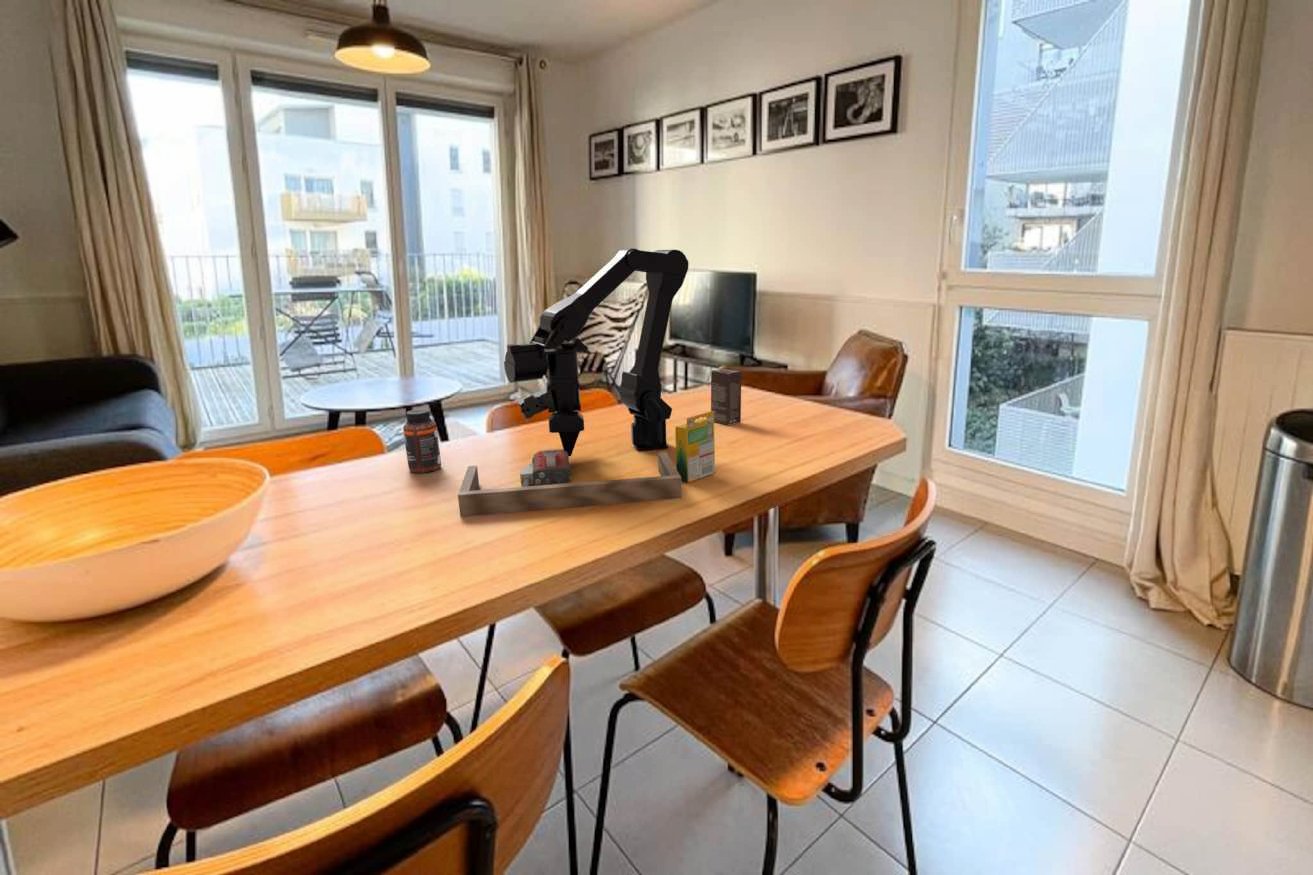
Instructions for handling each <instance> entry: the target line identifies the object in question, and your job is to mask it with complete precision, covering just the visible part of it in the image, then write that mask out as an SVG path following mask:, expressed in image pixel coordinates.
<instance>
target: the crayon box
mask: <svg viewBox="0 0 1313 875" xmlns="http://www.w3.org/2000/svg"><path fill="white" fill-rule="evenodd" d="M674 431H675V434H674V435H675V458H676V459H675V462H676V465H675V468H676V469H677V471H678V473H679V474H680V476H681V478H682V483H687V484H690V483H691V482H694V481H696V480H700V479H702V478H705V477H707V476H709V475H714V474H715V473H716V467H715V466H716V460H715V453H716V451H715V450H716V449H715V422H714V411H711V410H710V411H708V412H704V413H700V414H698V415H694V416H691V417H688V418H686V423H685V424H680V425H676V426H675V430H674Z"/></svg>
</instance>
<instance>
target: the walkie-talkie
mask: <svg viewBox="0 0 1313 875" xmlns="http://www.w3.org/2000/svg"><path fill="white" fill-rule="evenodd" d="M569 457H570V456H568V452H567V451H565V450H564V449H556V448H555V449H545V450H539V451H537V452H536V453H534V454H533V457H532V459H531V461H532V462H531V463H529V464H527V465H524V466H522V468H521V471H520V474H519V477H520V485H521V486H522V487H528V486H530V485H533V486H541V485H554V484H567V483H570V482H571V477H572V469H571V466H570V458H569ZM571 483H572V482H571Z"/></svg>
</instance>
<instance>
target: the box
mask: <svg viewBox="0 0 1313 875" xmlns="http://www.w3.org/2000/svg"><path fill="white" fill-rule="evenodd" d="M710 377H711V379H710V384H711V385H710V412H711V411H714V423H719V424H723V425H727V426H732V425H736V424H739V423H741V421H742V419H741V416H742V412H741V411H742V370H741V371H740V370H733V369H726V368H720V369H713V370H711V371H710Z"/></svg>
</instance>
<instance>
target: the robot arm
mask: <svg viewBox="0 0 1313 875" xmlns="http://www.w3.org/2000/svg"><path fill="white" fill-rule="evenodd" d="M689 265H690V264H689V259H688V258H687V257H686V255H685V253H684V252H683V251H681V250H679V249H657V250H654V251H649V250H648V251H646V250H640V249H638V248H633V247H632V248H630V247H629V248H622V249H620V250H618V252H617V253H616V255H615V256H614V257H612V258H611V260H609V262H607V263H606V264H605V265H604V266H603V267H602V268H601V269H600V270H599V271H597V273H596V274H594V275H593V276H592V277H591V278H590V279H589V280H588V281H587V282H586V283H585V284H583V285H582V286H581V287H580V288H579V289H578V290H576V291H575V293H573V294H572V295H570V296H568V297H566V298H563V299H562V300H559V301H557V302H556V303H554V304H552V305H551V306H549V307H548V308H546V309H545V310H544V311H543V312H542V313H541V314H540V317H539V320H540V321H539V326H538V328H537V330H536V331H535V333H534V334H533V336H532V338H531V339H530V341H529V342H528V343H522V344H519V343H518V344H517V343H509V344H508V343H507V345H506V350H507V351H506V353H505V357H504V362H503V367H504V372H505V375H506V378H507V380H508V382H509V383H511V384H513V383H521V382H529V381H537V380H542V379H543V377H544V376H547V382H546V388H545V389H542V390H541V389H540V390H539V391H536V392H533V393H531V394H529V395H526V396H524V397H522V398H520V399H519V400H518V406H519V409H520V412H521V413H522V414H523V416H524V419H525V420H528V419H531V418H532V417H533V416H535V415H537V414H539V413H542V412H544V411H547V410H548V411H547V413H552V414H551V415H550V416H549V417H548V431H549V432H548V433H551V434H554V433H555V434H556V433H558V436H559V438H560V442H561V445H562V450H565V451H567V452H568V456H569V457H572V455H573V452H574V449H575V446H576V444H577V441H578V438H579V435H580V432H583V431H585V420H584V416H583V414H582V413H581V411H582V407H581V406H582V404H581V396H580V394H581V393H580V392H581V391H580V388H581V387H580V378H579V376H580V375H579V360H578V359H579V358H578V352H584V351H588V350H589V347H588V346H587V345H586V344H585V343H584V342H582V340H581V339H580V338H578V337H577V336H578V335H579V334H580V332H581V331H582V330H583V329H584V327H585V326H586V325H587V323H588V320H589V319H590V316H591V314H592V313H593V311H594V309H596V308H597V307H598V306H599V305H601V303H603V301H605V299H607V297H609V296H610V295H611V294H612V293H613V292H614V291H615V290H616V289H617V288H618V287H619V286H620V285H622V284H623V283H624V282H625V281H626V280H627V279H628V278H629V277H630V276H631V275H632V274H633V273H634V272H641V273H645V281H646V285H647V286H646V287H647V290H648V297H647V302H646V307H645V311H644V318H643V322H642V325H641V326H642V327H641V333H640V337H639V343H638V347H637V353H636V358H635V362H634V365H633V367H631V369H630V370H629V372H628V371H624V370H623V371H622V374H621V383H620V386H619V387H618V389H617V391H618V392H620V393H619V394H620V395H619V397H620V401H621V402H622V403H623V405H624V406H625V407H627V410H628V412H629V414H630V415H633V422H631V424H630V431H631V443H632V445H633V446H634V447H635V450H636V451H644V450H645V451H646V450H647V451H648V450H660V449H668V448H669V445H668V443H667V420H669V419H670V418H671V416H672V410H673V408H672V407H671V406H670V405H669V404H668V403H666V401H665V400H664V399H662V387H663V386H662V382H661V381H662V380H661V377H660V372H659V368H660V362H661V357H662V353H663V348H664V343H665V340H666V339H665V338H666V333H667V328H668V324H669V318H670V314H671V309H672V304H673V300H674V298H675V296H676V295H677V294H678V292H679V290H680V289H681V287H683V285H684V281H685V278H686V276H687V275H688V274H687V273H688V272H689Z"/></svg>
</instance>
